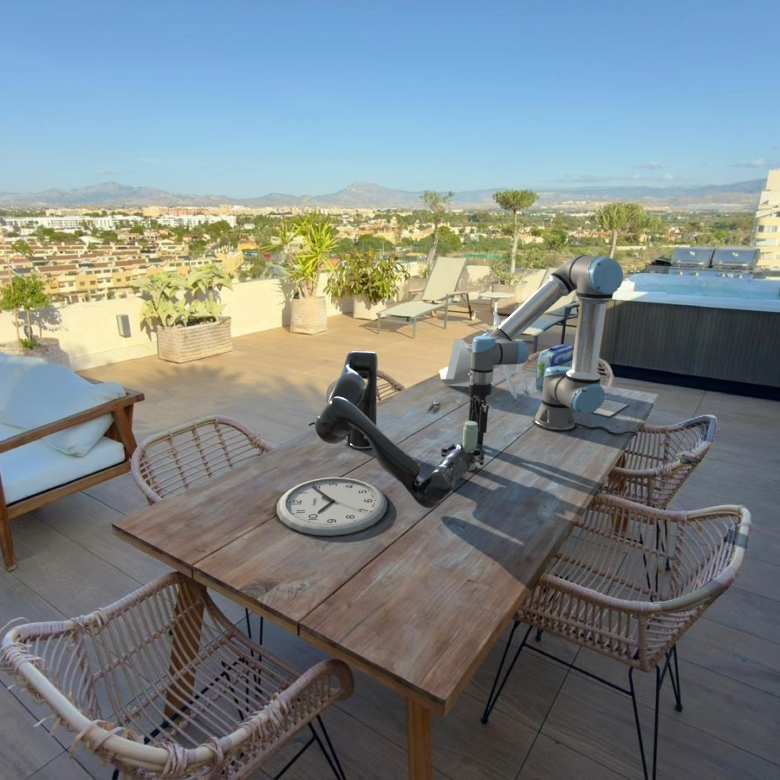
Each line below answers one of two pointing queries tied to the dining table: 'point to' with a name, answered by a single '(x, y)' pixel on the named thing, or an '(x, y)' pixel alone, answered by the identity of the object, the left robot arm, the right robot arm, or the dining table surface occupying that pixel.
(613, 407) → the invitation card
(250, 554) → the dining table surface
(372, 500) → the wall clock
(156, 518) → the dining table surface
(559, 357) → the lunch box
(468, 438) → the pale green cylinder
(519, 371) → the white plastic object
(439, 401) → the fork
